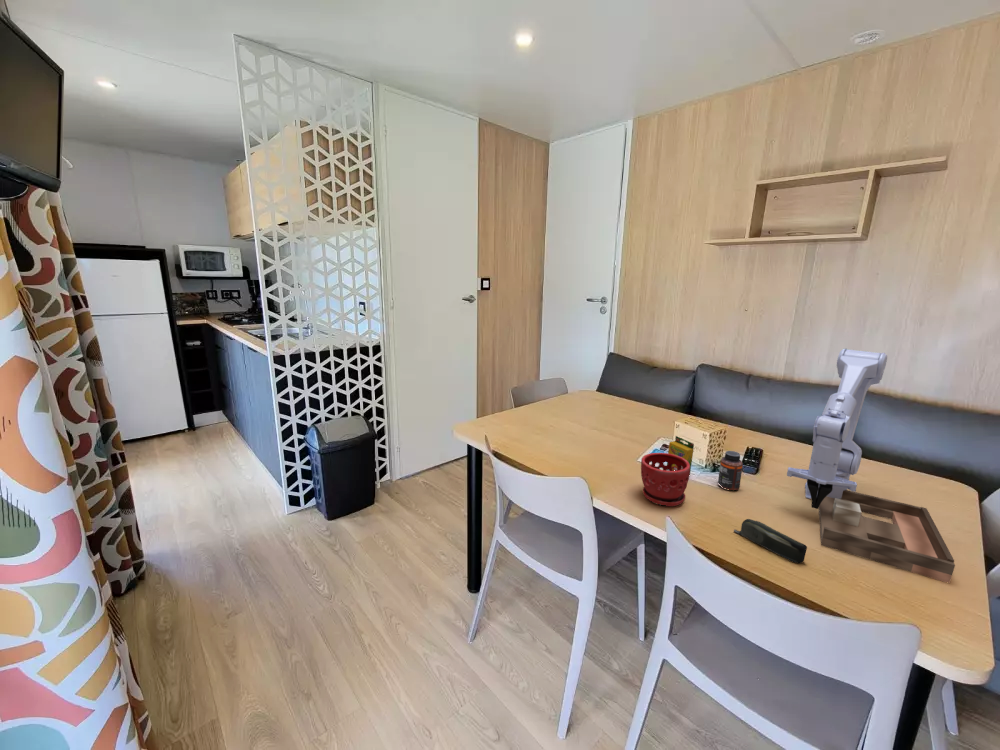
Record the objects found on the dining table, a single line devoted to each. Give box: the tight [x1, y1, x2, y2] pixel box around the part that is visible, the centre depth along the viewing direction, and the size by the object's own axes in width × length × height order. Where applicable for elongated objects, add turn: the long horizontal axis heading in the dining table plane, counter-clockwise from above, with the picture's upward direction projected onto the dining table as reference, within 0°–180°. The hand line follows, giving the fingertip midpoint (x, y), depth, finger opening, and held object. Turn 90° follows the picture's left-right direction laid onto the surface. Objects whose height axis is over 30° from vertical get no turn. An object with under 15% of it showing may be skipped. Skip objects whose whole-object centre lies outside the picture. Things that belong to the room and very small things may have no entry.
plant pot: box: [640, 452, 691, 507], centre depth 120 cm, size 13×13×12 cm
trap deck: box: [818, 489, 956, 584], centre depth 105 cm, size 22×27×5 cm
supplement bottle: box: [717, 450, 743, 491], centre depth 127 cm, size 6×6×11 cm
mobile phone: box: [733, 518, 808, 564], centre depth 100 cm, size 5×3×15 cm
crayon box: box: [666, 435, 695, 472], centre depth 136 cm, size 7×3×12 cm, turn 27°
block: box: [832, 498, 861, 527], centre depth 108 cm, size 5×5×4 cm
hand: (814, 506), depth 112 cm, fingers closed
